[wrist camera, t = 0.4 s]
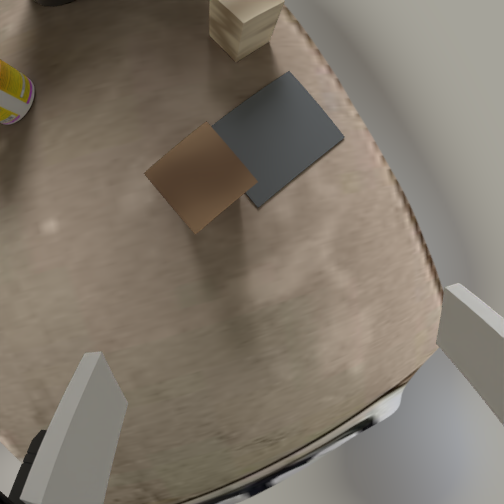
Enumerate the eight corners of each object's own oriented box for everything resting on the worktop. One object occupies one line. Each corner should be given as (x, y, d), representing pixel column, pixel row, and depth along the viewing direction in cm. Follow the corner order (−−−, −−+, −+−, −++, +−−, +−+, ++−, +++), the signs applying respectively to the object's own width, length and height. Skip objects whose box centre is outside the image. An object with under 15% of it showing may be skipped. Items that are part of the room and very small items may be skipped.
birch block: (209, 35, 31) (209, -8, 23) (242, 15, 31) (250, -28, 23) (236, 62, 32) (243, 23, 24) (269, 41, 32) (284, 1, 24)
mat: (198, 137, 33) (198, 136, 33) (288, 71, 33) (289, 70, 33) (257, 207, 35) (258, 207, 35) (343, 137, 35) (344, 137, 35)
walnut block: (173, 187, 34) (143, 173, 19) (209, 157, 34) (206, 121, 19) (203, 222, 34) (195, 234, 20) (239, 192, 34) (258, 182, 20)
